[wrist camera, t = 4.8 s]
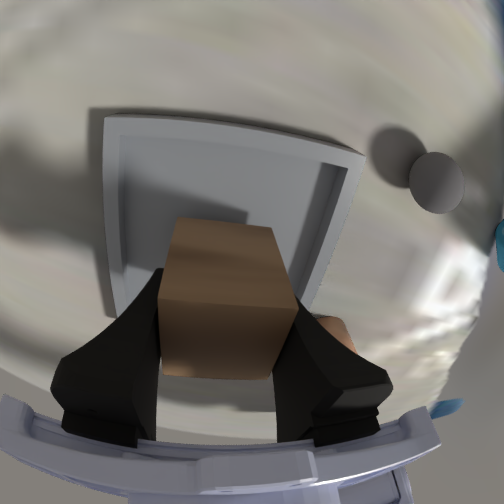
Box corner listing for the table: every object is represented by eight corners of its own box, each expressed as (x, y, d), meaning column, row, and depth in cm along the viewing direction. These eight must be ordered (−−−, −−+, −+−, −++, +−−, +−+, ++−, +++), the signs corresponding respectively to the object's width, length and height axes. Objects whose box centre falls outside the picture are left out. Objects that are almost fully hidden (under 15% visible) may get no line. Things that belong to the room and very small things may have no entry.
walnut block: (253, 296, 16) (267, 379, 11) (174, 289, 15) (163, 374, 10) (271, 227, 13) (298, 308, 9) (177, 216, 13) (157, 298, 8)
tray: (286, 334, 21) (290, 349, 19) (125, 321, 18) (121, 337, 17) (353, 149, 13) (367, 156, 12) (116, 113, 11) (104, 117, 10)
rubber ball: (428, 202, 15) (460, 229, 12) (390, 191, 15) (423, 219, 12) (445, 155, 14) (482, 175, 11) (408, 136, 13) (448, 155, 10)
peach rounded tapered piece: (333, 347, 23) (347, 385, 19) (291, 348, 22) (301, 389, 19) (352, 316, 21) (371, 355, 17) (306, 315, 20) (321, 359, 16)
